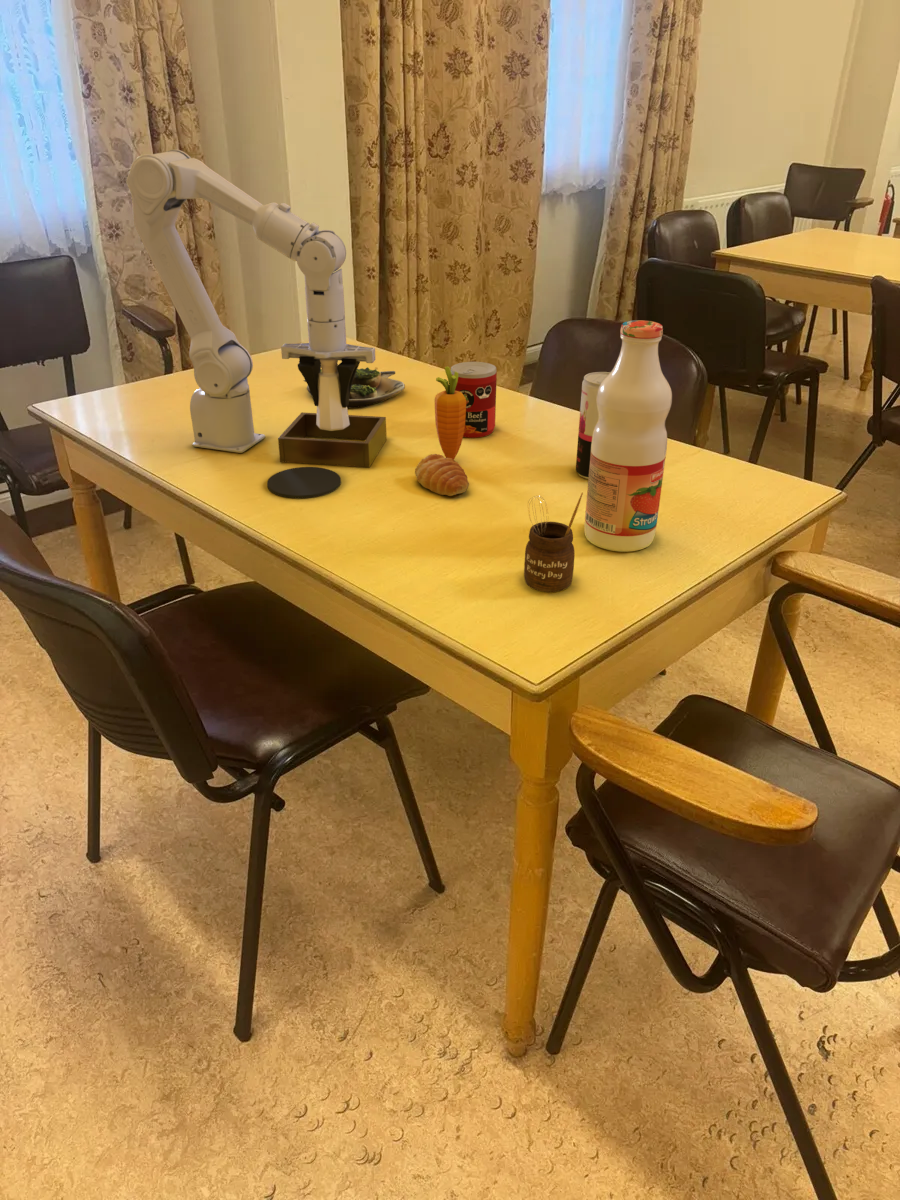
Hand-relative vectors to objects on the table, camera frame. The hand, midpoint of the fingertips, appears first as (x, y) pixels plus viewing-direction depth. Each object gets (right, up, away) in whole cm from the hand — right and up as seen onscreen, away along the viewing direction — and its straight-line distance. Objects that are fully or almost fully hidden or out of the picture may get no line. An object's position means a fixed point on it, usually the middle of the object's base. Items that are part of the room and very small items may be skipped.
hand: (331, 404), depth 143 cm
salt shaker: (0, -3, +2) cm, 4 cm away
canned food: (+23, -2, +12) cm, 26 cm away
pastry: (+18, -14, -8) cm, 24 cm away
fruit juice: (+42, -23, -23) cm, 53 cm away
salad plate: (0, +8, +30) cm, 31 cm away
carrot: (+19, -9, 0) cm, 21 cm away
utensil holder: (+31, -29, -34) cm, 54 cm away
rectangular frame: (0, -7, +4) cm, 8 cm away
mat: (-3, -14, -8) cm, 16 cm away
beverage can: (+42, -12, -4) cm, 44 cm away
